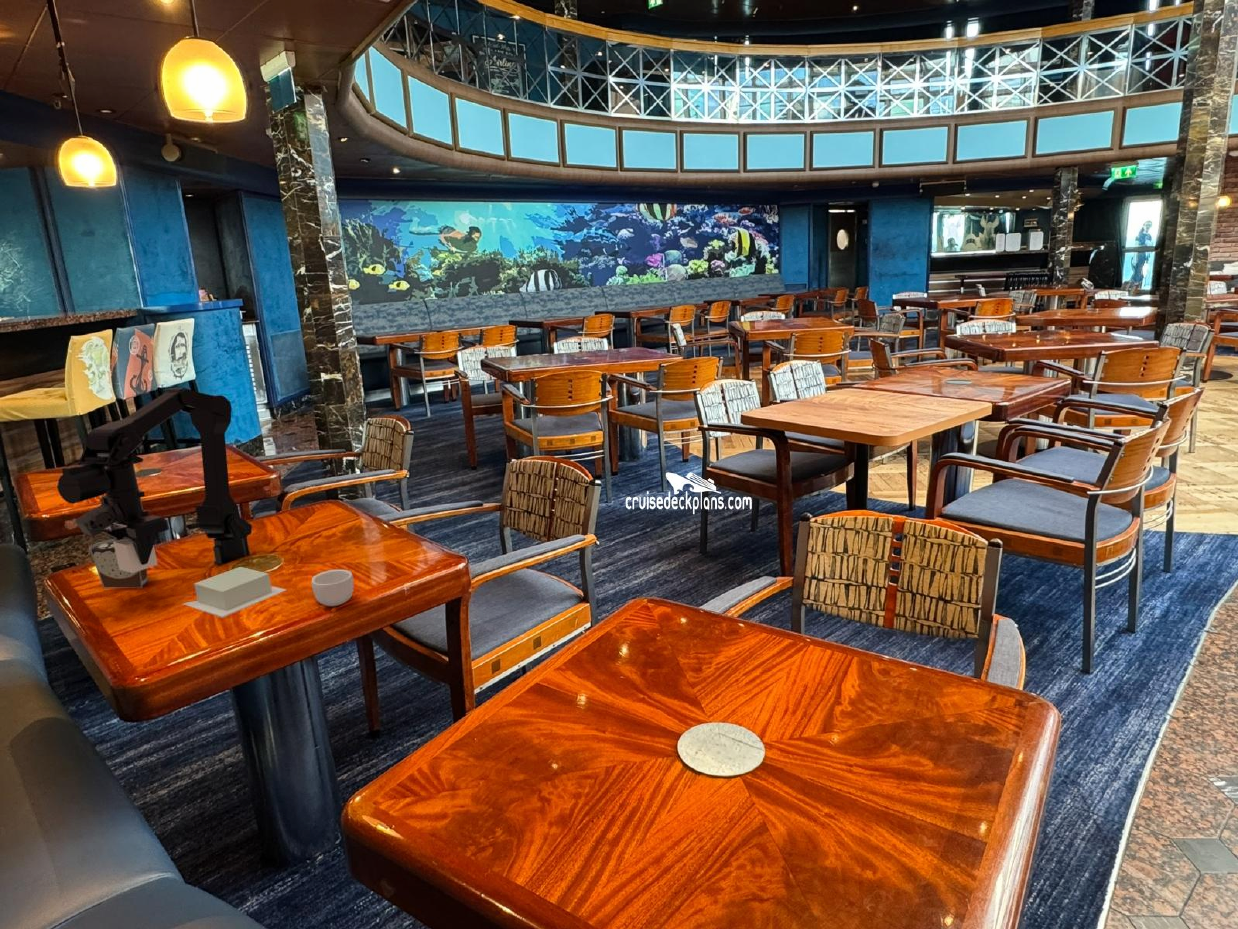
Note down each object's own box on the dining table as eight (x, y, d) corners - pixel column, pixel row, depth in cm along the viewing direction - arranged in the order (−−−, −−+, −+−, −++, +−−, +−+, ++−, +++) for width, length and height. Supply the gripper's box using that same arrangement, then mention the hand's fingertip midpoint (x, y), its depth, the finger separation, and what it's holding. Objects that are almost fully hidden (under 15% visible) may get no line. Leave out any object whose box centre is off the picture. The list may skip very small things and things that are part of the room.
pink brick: (145, 561, 155) (139, 534, 153) (157, 564, 152) (151, 537, 151) (119, 569, 151) (113, 541, 149) (132, 573, 148) (125, 545, 147)
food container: (167, 577, 168) (158, 535, 165) (148, 588, 162) (139, 545, 160) (118, 577, 169) (108, 536, 167) (97, 588, 163) (86, 546, 161)
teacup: (363, 598, 150) (360, 574, 148) (329, 613, 144) (325, 588, 143) (335, 588, 156) (331, 564, 154) (301, 601, 150) (297, 577, 148)
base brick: (243, 584, 159) (240, 566, 158) (272, 591, 153) (268, 573, 153) (197, 601, 150) (194, 583, 149) (226, 610, 145) (222, 591, 144)
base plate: (247, 583, 161) (246, 579, 161) (287, 594, 154) (286, 589, 154) (183, 608, 150) (182, 604, 150) (223, 621, 143) (222, 616, 143)
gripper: (53, 495, 146) (71, 569, 149) (100, 505, 136) (118, 583, 140) (114, 481, 155) (130, 551, 158) (162, 489, 145) (177, 563, 149)
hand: (137, 562), depth 151 cm, fingers closed on pink brick, 5 cm apart
